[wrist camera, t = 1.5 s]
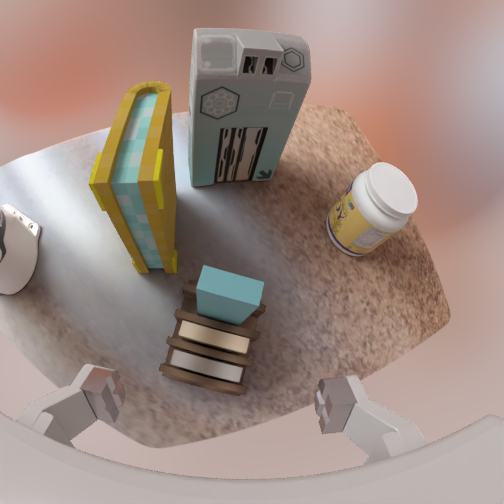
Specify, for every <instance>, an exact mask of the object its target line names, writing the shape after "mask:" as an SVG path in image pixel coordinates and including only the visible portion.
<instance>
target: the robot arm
mask: <svg viewBox="0 0 504 504" xmlns="http://www.w3.org/2000/svg"><path fill="white" fill-rule="evenodd" d="M32 227H33V228H32ZM40 230H41V228H40V226H39V225H38V224H37V223H35V222H34V221H32V220H31V219H29V218H28V217H27V216H25V215H24V214H22V213H21V212H20V211H18V210H17V209H16V208H14V207H13V206H11V205H10V204H6V205H4V206H1V205H0V293H2V294H7V295H10V294H14V293H16V292H18V291H20V290H21V289H22V288H23V287H24V286H25V285H26V284H27V282H28V281H29V279H30V278H31V276H32V274H33V271H34V269H35V266H36V262H37V255H38V245H37V243H38V238H39V234H40ZM119 379H120V374H119V371H117V370H114V369H109V368H105V367H101V366H95V365H91V364H85V365H84V366H83V368H82V369H81V370H80V372H79V373H78V375H77V376H76V378H75V379H74V381H73V382H72V384H71V385H70V386H65V387H63V388H61V389H59V390H57V391H54V392H52V393H50V394H48V395H46V396H44V397H42V398H39V399H37V400H35V401H33V402H31V403H28V405H27V406H26V408H25V409H24V411H23V412H22V413H21V415H20V416H19V418H18V419H17V421H16V420H14V419H12V418H10V417H9V416H7V415H5V414H4V413H2V412H1V411H0V504H504V419H503V418H500V417H498V416H494V415H487V416H485V417H482V418H481V419H479V420H477V421H475V422H474V423H472V424H470V425H468V426H466V427H464V428H462V429H460V430H458V431H456V432H454V433H452V434H450V435H448V436H446V437H443V438H441V439H439V440H437V441H434V442H432V443H430V444H427V443H426V441H425V440H424V438H423V436H422V435H421V433H420V431H419V429H418V428H417V426H416V424H414V423H413V422H411V421H409V420H407V419H405V418H403V417H402V416H400V415H398V414H396V413H395V412H393V411H391V410H389V409H388V408H386V407H384V406H382V405H380V404H379V403H377V402H375V401H374V400H372V401H370V399H369V397H368V395H367V393H366V392H365V389H364V388H363V386H362V384H361V382H360V380H359V378H358V376H357V375H350V376H344V377H335V378H326V379H321V380H320V381H319V385H318V387H319V391H318V392H317V393H316V397H315V410H316V413H317V415H318V416H320V420H319V424H320V428H321V431H322V434H327V433H336V432H342V433H343V434H344V435H346V436H347V437H348V438H349V439H350V440H351V441H352V442H354V443H355V444H356V445H357V446H358V447H359V448H361V449H362V450H363V451H364V452H365V453H367V454H368V455H369V456H370V457H369V458H368V459H367V461H366V462H365V464H364V465H362V466H358V467H353V468H349V469H344V470H339V471H334V472H328V473H322V474H315V475H307V476H299V477H289V478H276V479H217V478H203V477H192V476H184V475H176V474H169V473H164V472H158V471H153V470H148V469H142V468H138V467H134V466H130V465H126V464H122V463H118V462H114V461H111V460H108V459H104V458H101V457H98V456H95V455H92V454H88V453H86V452H83V451H80V450H78V449H75V447H74V446H73V444H72V443H71V442H70V440H71V439H72V438H74V437H75V436H76V435H78V434H79V433H81V432H82V431H83V430H85V429H86V428H87V427H89V426H90V425H91V424H93V423H94V422H95V421H97V419H99V420H103V421H107V422H111V423H115V421H116V418H117V416H118V414H119V410H118V407H120V406H121V405H122V404H123V402H124V399H125V389H124V386H123V384H122V383H121V382H120V381H119Z"/></svg>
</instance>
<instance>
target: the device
mask: <svg viewBox="0 0 504 504" xmlns="http://www.w3.org/2000/svg"><path fill="white" fill-rule="evenodd" d="M310 83H311V63H310V50H309V46H308V44H307V43H306V41H305V40H304V39H303V38H302V37H301V36H296V35H290V34H284V33H277V32H268V31H259V30H246V29H228V28H196V29H195V30H194V35H193V46H192V59H191V73H190V95H189V123H188V163H189V171H190V179H191V186H192V187H195V186H204V185H213V184H214V183H225V182H237V181H265V180H271V179H272V177H273V175H274V172H275V170H276V167H277V165H278V162H279V160H280V157H281V155H282V152H283V150H284V147H285V145H286V142H287V140H288V137H289V135H290V132H291V130H292V127H293V125H294V122H295V120H296V117H297V115H298V112H299V110H300V108H301V105H302V103H303V100H304V98H305V95H306V93H307V90H308V88H309V85H310Z"/></svg>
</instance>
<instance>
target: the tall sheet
mask: <svg viewBox="0 0 504 504" xmlns="http://www.w3.org/2000/svg"><path fill="white" fill-rule="evenodd" d="M263 287H264V282H262V281H259V280H255V279H251V278H248V277H244V276H241V275H237V274H234V273H230V272H227V271H223V270H220V269H216V268H213V267H209V266H206V265H203V268H202V271H201V275H200V278H199V281H198V284H197V287H196V294H197V312H198V316H201V317H205V318H208V319H212V320H215V321H219V322H223V323H226V324H230V325H234V326H239V325H240V324H241V323H242V322H243V321H244V320H245V319H246V318H247V317H248V316H249V315H250V314H251V313H252V312H254V311H255V310H256V309H257V308H258V307H259V305H260V300H261V296H262V291H263Z"/></svg>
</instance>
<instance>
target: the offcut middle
mask: <svg viewBox="0 0 504 504" xmlns="http://www.w3.org/2000/svg"><path fill="white" fill-rule="evenodd" d="M178 335H179V336H180V337H181V338H182V339H184V340H187V341H190V342H194V343H197V344H201V345H204V346H208V347H211V348H215V349H219V350H223V351H226V352H230V353H234V354H238V355H240V354H245V353H246V352H247V348H248V344H249V340H250V339H249V338H245V337H241V336H237V335H233V334H229V333H226V332H222V331H218V330H215V329H211V328H208V327H204V326H201V325H197V324H194V323H190V322H187V321H184V320H183V321H182V324H181V327H180V331H179V334H178Z"/></svg>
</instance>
